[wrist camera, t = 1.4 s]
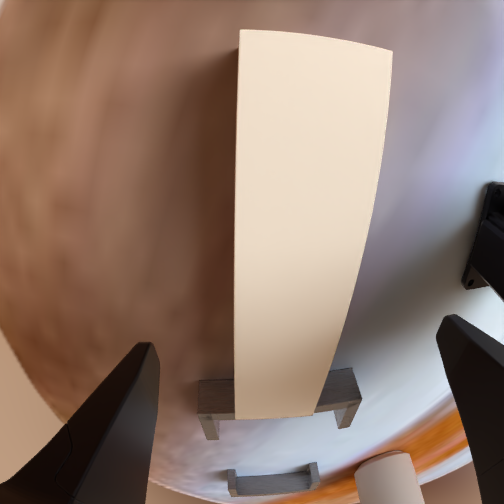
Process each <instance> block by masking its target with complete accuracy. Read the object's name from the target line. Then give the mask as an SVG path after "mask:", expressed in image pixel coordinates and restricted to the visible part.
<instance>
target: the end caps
mask: <svg viewBox="0 0 504 504" xmlns="http://www.w3.org/2000/svg"><path fill="white" fill-rule="evenodd" d="M361 401H362V397H361V394H360V391H359V387H358V384H357V381H356V378H355V375H354V373H353V370H352V368H348V369H341V370H334V371H329V372H328V375H327V378H326V381H325V384H324V386H323V389H322V392H321V395H320V397H319V400H318V402H317V405H316V408H315V410H314V413H318V412H325V411H331V410H334V414H335V418H336V422H337V426H338V429H342V428H347V427H350V425H351V422H352V420H353V418H354V416H355V414H356V412H357V410H358V407H359V405H360V403H361ZM197 414H198V417H199V420H200V422H201V425H202V428H203V430H204V433H205V436H206V438H207V440H219V420H235V389H234V379H232V380H200V383H199V397H198V412H197ZM319 483H320V478H319V472H318V467H317V462H316V463H309V466H308V469H307V471H305V472H297V473H288V474H279V475H267V476H250V477H237V475H236V471H235V470H228V491H229V493H230V495H231V497H247V496H265V495H278V494H288V493H296V492H304V491H311V490H315V489H316V488H317V486H318V484H319Z"/></svg>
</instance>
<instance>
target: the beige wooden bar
mask: <svg viewBox="0 0 504 504" xmlns="http://www.w3.org/2000/svg"><path fill="white" fill-rule="evenodd" d="M392 54H393V51H390V50H386V49H382V48H378V47H374V46H370V45H365V44H361V43H356V42H351V41H346V40H341V39H335V38H329V37H322V36H316V35H308V34H300V33H290V32H279V31H265V30H240V37H239V49H238V78H237V110H236V151H235V208H234V389H235V420H242V419H273V418H289V417H302V416H312V415H313V413H314V410H315V408H316V405H317V402H318V400H319V397H320V395H321V392H322V389H323V386H324V384H325V381H326V378H327V375H328V372H329V369H330V366H331V364H332V361H333V358H334V355H335V352H336V348H337V345H338V342H339V339H340V336H341V333H342V329H343V326H344V323H345V319H346V316H347V313H348V309H349V306H350V302H351V299H352V295H353V291H354V288H355V284H356V280H357V276H358V272H359V268H360V264H361V260H362V256H363V252H364V248H365V243H366V239H367V234H368V230H369V225H370V220H371V216H372V211H373V206H374V200H375V195H376V190H377V184H378V178H379V172H380V166H381V160H382V153H383V146H384V139H385V132H386V124H387V115H388V106H389V96H390V84H391V71H392Z"/></svg>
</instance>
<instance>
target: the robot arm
mask: <svg viewBox="0 0 504 504" xmlns="http://www.w3.org/2000/svg"><path fill="white" fill-rule="evenodd" d="M495 191H496V192H495ZM461 284H462V285H463V287H464V288H465V289H466V290H470V289H475V288H481V287H486V286H490V287H491V288H492V289H493V290H494V292H495V293H496V294H497V295H498V296H499V297H500V298H501V300H502V301H503V302H504V183H503V182H492V183H491V184H490V185H489V186H488V189H487V194H486V198H485V203H484V207H483V211H482V215H481V219H480V223H479V227H478V230H477V234H476V237H475V241H474V244H473V247H472V251H471V254H470V257H469V260H468V263H467V266H466V269H465V272H464V275H463V278H462V281H461ZM436 341H437V344H438V348H439V351H440V354H441V358H442V362H443V365H444V369H445V373H446V376H447V379H448V382H449V385H450V388H451V391H452V393H453V396H454V399H455V402H456V405H457V408H458V411H459V414H460V417H461V420H462V424H463V427H464V430H465V433H466V437H467V440H468V444H469V447H470V451H471V455H472V459H473V463H474V467H475V471H476V475H477V480H478V485H479V489H480V495H481V500H482V504H504V345H503V344H501V343H500V342H498V341H497V340H495V339H494V338H492V337H491V336H489V335H488V334H486V333H484V332H483V331H481V330H480V329H478V328H477V327H475V326H474V325H472V324H470V323H469V322H467V321H466V320H464V319H463V318H461V317H459V316H458V315H456V314H452V315H447V316H445V317H444V318H443V320H442V322H441V325H440V327H439V329H438V332H437V334H436ZM159 377H160V361H159V358H158V356H157V353H156V350H155V347H154V345H153V343H151V342H138V343H137V344H136V345H135V346H134V347H133V348H132V349H131V351H130V352H129V353H128V354H127V355H126V356H125V357H124V358H123V359H122V360H121V362H120V363H119V364H118V365H117V366H116V367H115V368H114V369H113V370H112V372H111V373H110V374H109V375H108V376H107V377H106V378H105V379H104V381H103V382H102V383H101V384H100V385H99V386H98V387H97V388H96V390H95V391H94V392H93V393H92V394H91V395H90V396H89V397H88V399H87V400H86V401H85V402H84V403H83V404H82V405H81V406H80V408H79V409H78V410H77V411H76V412H75V413H74V414H73V416H72V417H71V418H70V419H69V420H68V421H67V423H66V424H65V425H64V426H63V427H62V428H61V429H60V430H59V432H58V433H57V434H56V435H55V436H54V437H53V438H52V440H50V442H49V443H48V444H47V445H46V446H45V447H43V448H42V449H41V450H40V451H39V452H38V453H37V454H36V455H35V456H34V457H33V458H32V459H31V460H30V461H29V462H28V463H27V464H25V465H24V467H22V468H21V469H20V470H19V471H18V472H17V473H16V474H15V475H14V476H12V477H11V478H10V479H9V480H7V481H5V482H3V483H1V484H0V504H145V500H146V491H147V483H148V475H149V468H150V460H151V453H152V446H153V440H154V433H155V427H156V420H157V413H158V395H159Z"/></svg>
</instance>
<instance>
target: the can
mask: <svg viewBox="0 0 504 504" xmlns="http://www.w3.org/2000/svg"><path fill="white" fill-rule="evenodd" d="M354 477H355V481H356V485H357V490H358V494H359V499H360V503H361V504H425V503H424V500H423V496H422V493H421V489H420V486H419V483H418V480H417V476H416V473H415V470H414V467H413V464H412V461H411V458H410V455H409V454H408V453H404V452H402V451H391V452H387V453H384V454H381V455H378V456H376V457H373V458H371V459H369V460H367V461H365V462H364V463H362V464H361V465H360V466H359V468H358V470H357V471H356V472H355V474H354Z"/></svg>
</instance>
